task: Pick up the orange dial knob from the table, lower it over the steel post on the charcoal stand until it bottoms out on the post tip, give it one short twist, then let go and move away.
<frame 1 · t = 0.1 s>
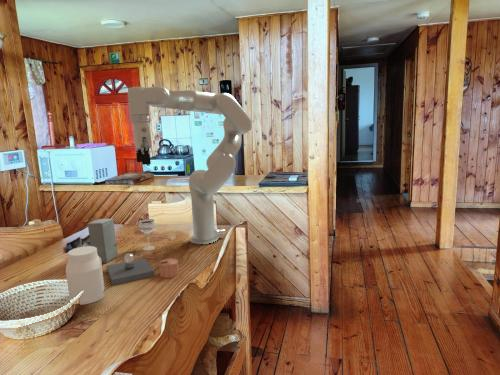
hand: (143, 163, 151), 37 cm above the table, tool pointing down, fingers open, 9 cm apart
wineglass: (149, 248, 161), on the table
post stand: (130, 273, 135), on the table
snack package: (79, 249, 164), on the table
jar: (87, 296, 119), on the table
orange dial knob: (169, 273, 134), on the table
skincare box: (105, 259, 150), on the table
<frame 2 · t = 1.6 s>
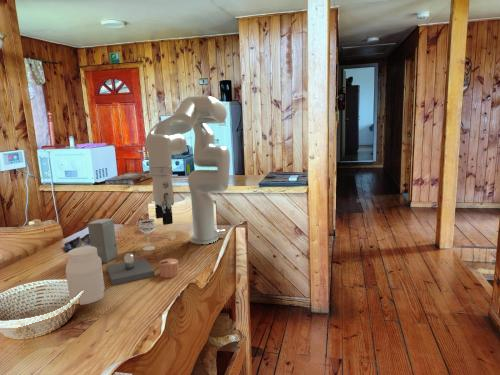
hand: (164, 221, 131), 19 cm above the table, tool pointing down, fingers open, 9 cm apart
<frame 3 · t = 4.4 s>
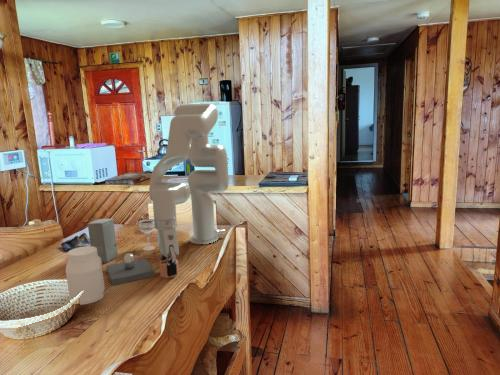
hand: (169, 271, 134), 1 cm above the table, tool pointing down, fingers closed on orange dial knob, 6 cm apart
snack package: (75, 248, 166), on the table
orange dial knob: (169, 273, 134), on the table, touching gripper
everything else where it was.
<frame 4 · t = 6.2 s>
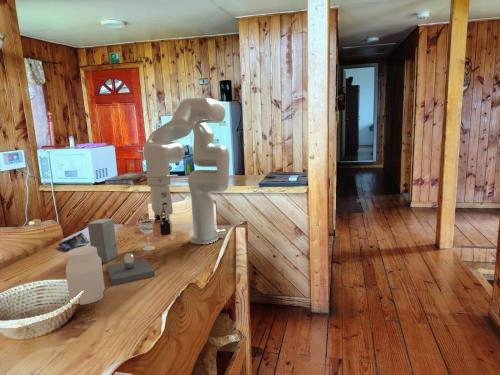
hand: (162, 231, 131), 16 cm above the table, tool pointing down, fingers closed on orange dial knob, 6 cm apart
snack package: (74, 248, 166), on the table
orange dial knob: (163, 234, 131), point 15 cm above the table, touching gripper
everything else where it was.
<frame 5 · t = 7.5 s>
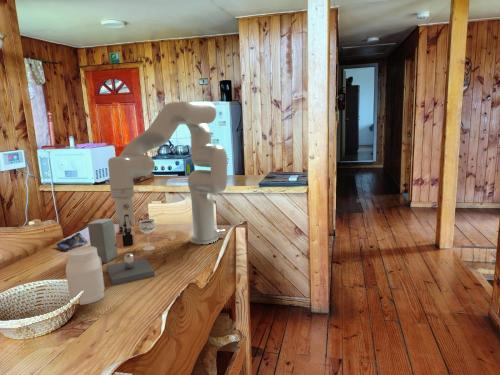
hand: (126, 242, 133), 12 cm above the table, tool pointing down, fingers closed on orange dial knob, 6 cm apart
orange dial knob: (126, 245, 133), point 11 cm above the table, touching gripper
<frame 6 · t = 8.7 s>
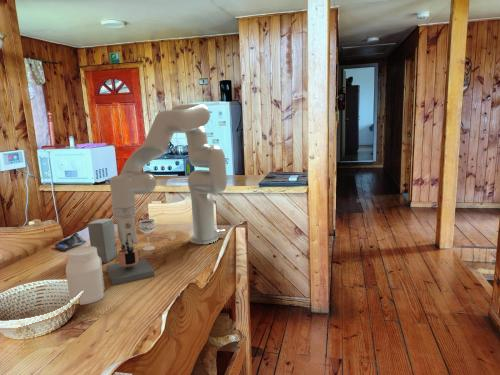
hand: (128, 259, 134), 5 cm above the table, tool pointing down, fingers closed on orange dial knob, 6 cm apart
orange dial knob: (128, 262, 135), point 4 cm above the table, touching gripper
when the fingers open (5 cm above the table, at t = 10.6 s): orange dial knob stays where it is, resting on post stand.
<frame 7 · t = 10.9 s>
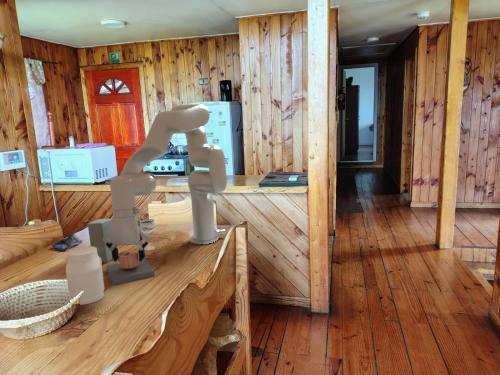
hand: (128, 259, 134), 5 cm above the table, tool pointing down, fingers open, 8 cm apart
snack package: (68, 247, 166), on the table
orange dial knob: (129, 264, 135), point 3 cm above the table, touching post stand
everything else where it was.
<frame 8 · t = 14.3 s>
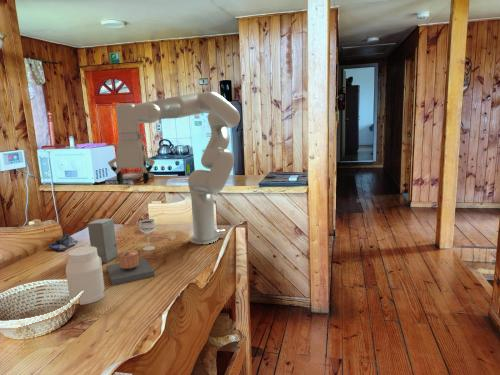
hand: (133, 183, 143), 30 cm above the table, tool pointing down, fingers open, 9 cm apart
snack package: (65, 248, 166), on the table
everything else where it was.
at the end: orange dial knob 0.0 cm off-centre on the post stand, point 3.2 cm above the post stand's base; orange dial knob tilted 0°; the gripper is holding nothing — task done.
